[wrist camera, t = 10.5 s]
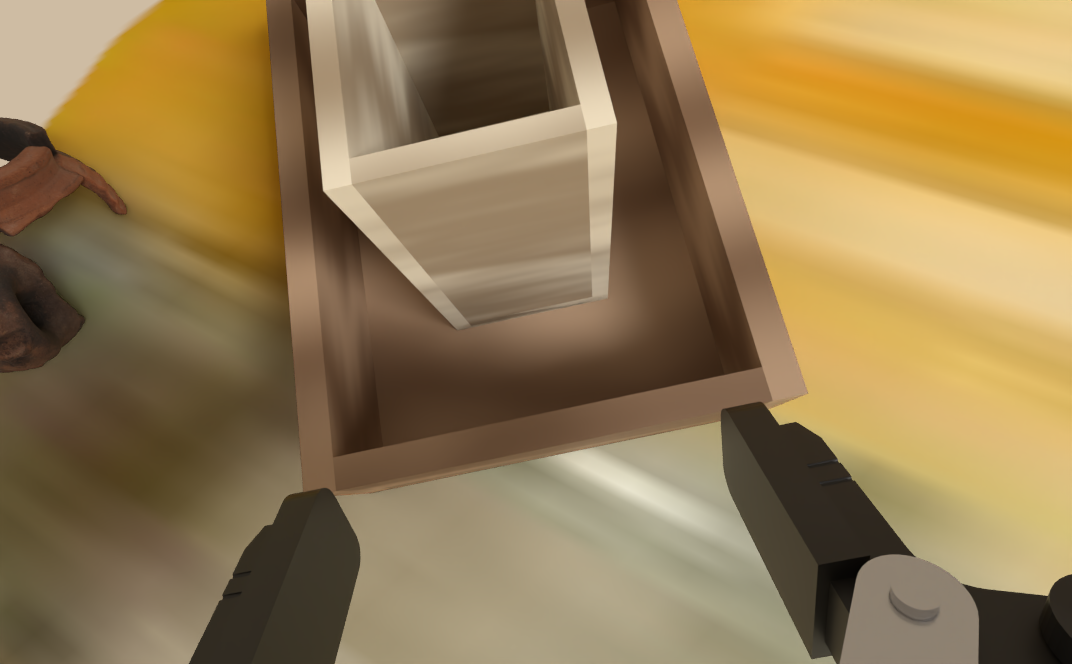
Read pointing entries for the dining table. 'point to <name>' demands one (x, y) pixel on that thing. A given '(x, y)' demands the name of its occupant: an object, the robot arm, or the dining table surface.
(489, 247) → the birch crate
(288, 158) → the walnut crate
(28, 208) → the pottery mug
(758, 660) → the dining table surface
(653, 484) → the dining table surface
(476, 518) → the dining table surface
